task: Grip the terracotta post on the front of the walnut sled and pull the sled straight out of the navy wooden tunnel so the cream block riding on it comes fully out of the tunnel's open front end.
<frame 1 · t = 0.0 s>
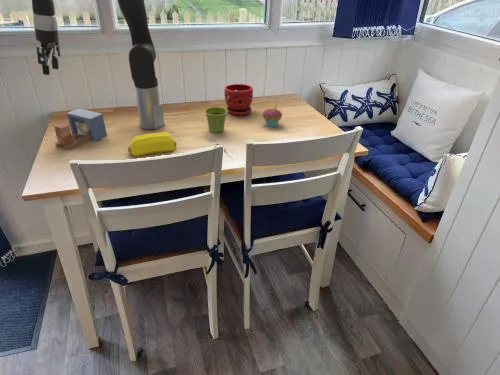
hand: (51, 71, 141), 22 cm above the table, tool pointing down, fingers open, 8 cm apart
hot dog: (153, 152, 135), on the table
fork: (223, 150, 138), on the table
plant pot: (216, 130, 153), on the table
tunnel: (89, 135, 145), on the table
sled: (76, 130, 139), point 4 cm above the table, slide at 0.0 cm
plant pot 2: (238, 112, 172), on the table
cupcake: (271, 125, 160), on the table
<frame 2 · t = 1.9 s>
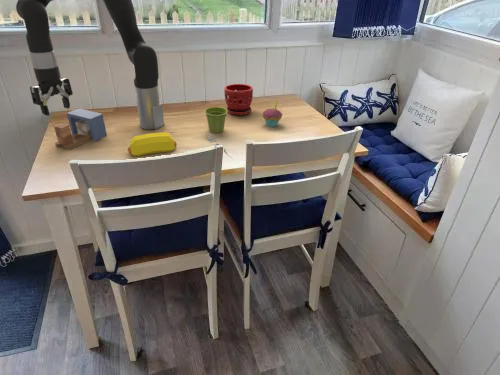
hand: (57, 111, 130), 14 cm above the table, tool pointing down, fingers open, 8 cm apart
nothing on the table moved.
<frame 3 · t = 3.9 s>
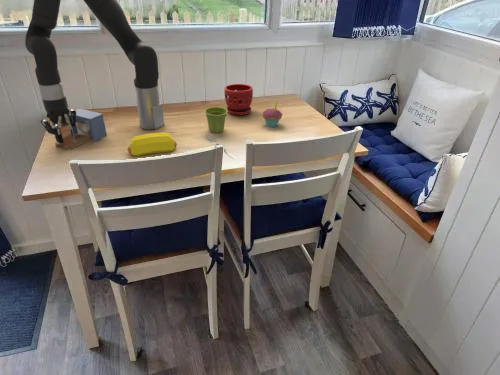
hand: (65, 140, 136), 2 cm above the table, tool pointing down, fingers closed on sled, 3 cm apart
sled: (76, 130, 139), point 4 cm above the table, slide at 0.0 cm, touching gripper
everything else where it was.
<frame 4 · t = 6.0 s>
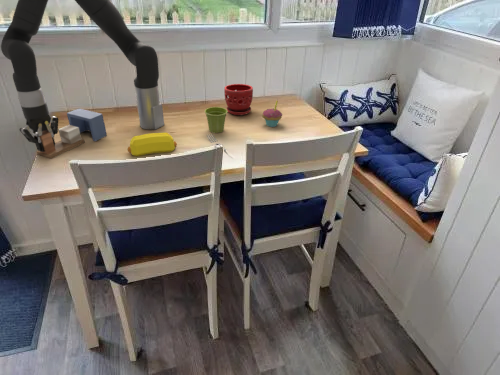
hand: (47, 148, 130), 2 cm above the table, tool pointing down, fingers closed on sled, 3 cm apart
sled: (58, 138, 133), point 4 cm above the table, slide at 8.0 cm, touching gripper
everything else where it was.
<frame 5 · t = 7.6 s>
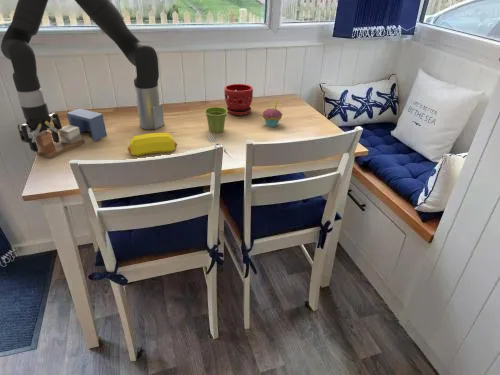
hand: (46, 146, 129), 3 cm above the table, tool pointing down, fingers open, 8 cm apart
sled: (58, 138, 133), point 4 cm above the table, slide at 8.0 cm
everything else where it was.
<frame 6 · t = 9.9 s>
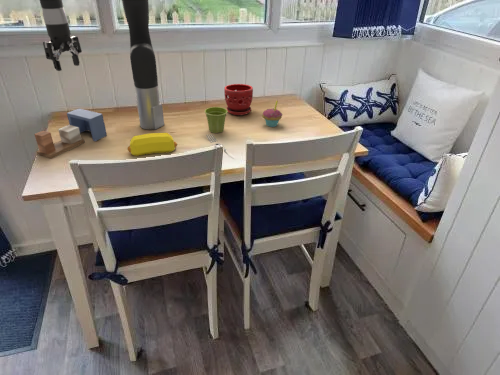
hand: (68, 67, 138), 25 cm above the table, tool pointing down, fingers open, 8 cm apart
nothing on the table moved.
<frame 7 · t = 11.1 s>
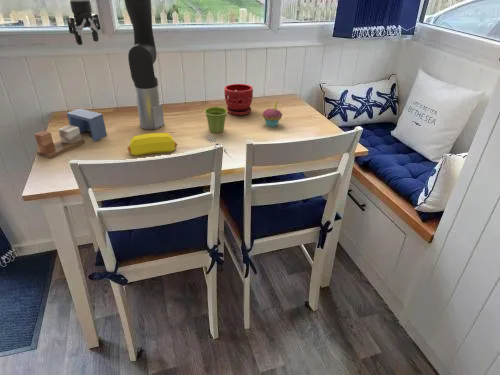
hand: (88, 42, 152), 30 cm above the table, tool pointing down, fingers open, 8 cm apart
nothing on the table moved.
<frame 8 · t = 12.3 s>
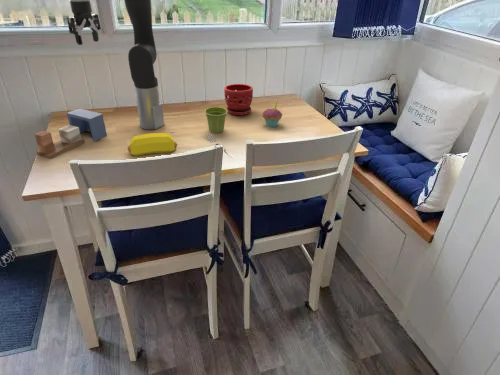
hand: (88, 42, 152), 30 cm above the table, tool pointing down, fingers open, 8 cm apart
nothing on the table moved.
at the end: sled slide at 8.0 cm; the gripper is holding nothing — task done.
